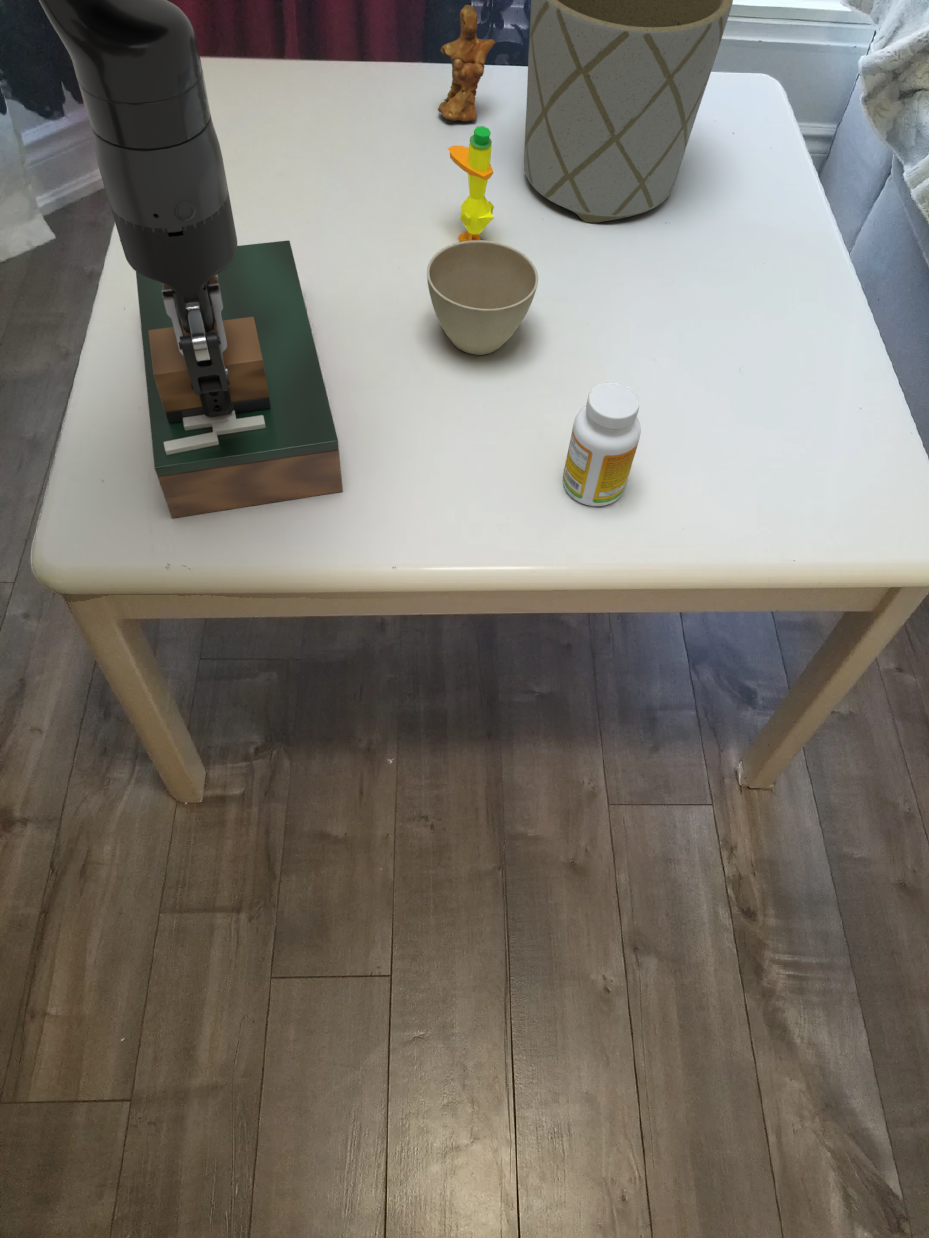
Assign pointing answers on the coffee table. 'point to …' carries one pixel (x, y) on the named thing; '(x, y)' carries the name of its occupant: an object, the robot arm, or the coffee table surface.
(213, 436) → the chalk stroke
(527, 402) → the coffee table surface
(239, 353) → the eraser
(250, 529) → the coffee table surface
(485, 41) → the figurine
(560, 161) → the planter
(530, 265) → the flower pot
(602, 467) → the supplement bottle
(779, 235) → the coffee table surface
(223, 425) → the chalk stroke
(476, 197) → the toy figure
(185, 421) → the chalk stroke
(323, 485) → the chalkboard
